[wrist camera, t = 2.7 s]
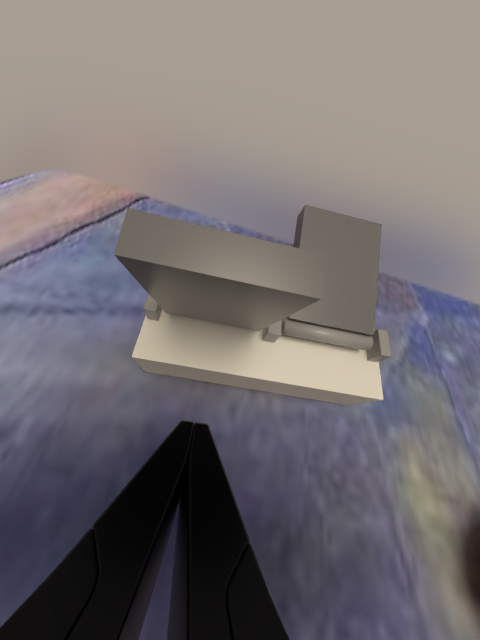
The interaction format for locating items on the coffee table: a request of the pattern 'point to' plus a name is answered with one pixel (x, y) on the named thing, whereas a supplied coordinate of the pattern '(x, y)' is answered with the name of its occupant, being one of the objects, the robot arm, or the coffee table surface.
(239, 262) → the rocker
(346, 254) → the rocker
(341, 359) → the rocker switch base
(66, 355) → the coffee table surface
